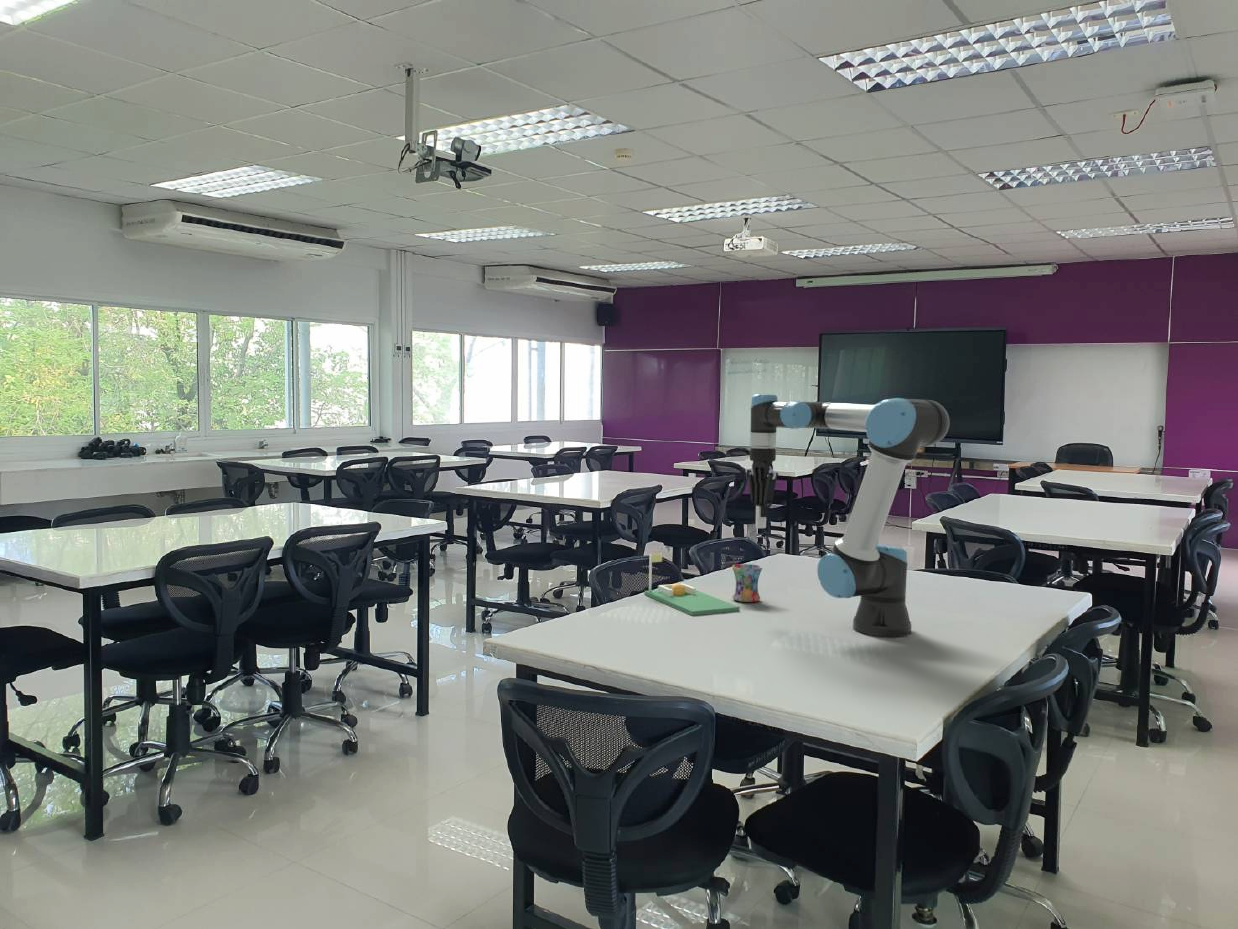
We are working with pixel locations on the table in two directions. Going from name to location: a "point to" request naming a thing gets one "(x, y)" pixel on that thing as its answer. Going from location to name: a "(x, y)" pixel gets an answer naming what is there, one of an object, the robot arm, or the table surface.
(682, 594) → the ball
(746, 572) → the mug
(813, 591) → the table surface
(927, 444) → the robot arm
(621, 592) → the table surface
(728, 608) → the green
